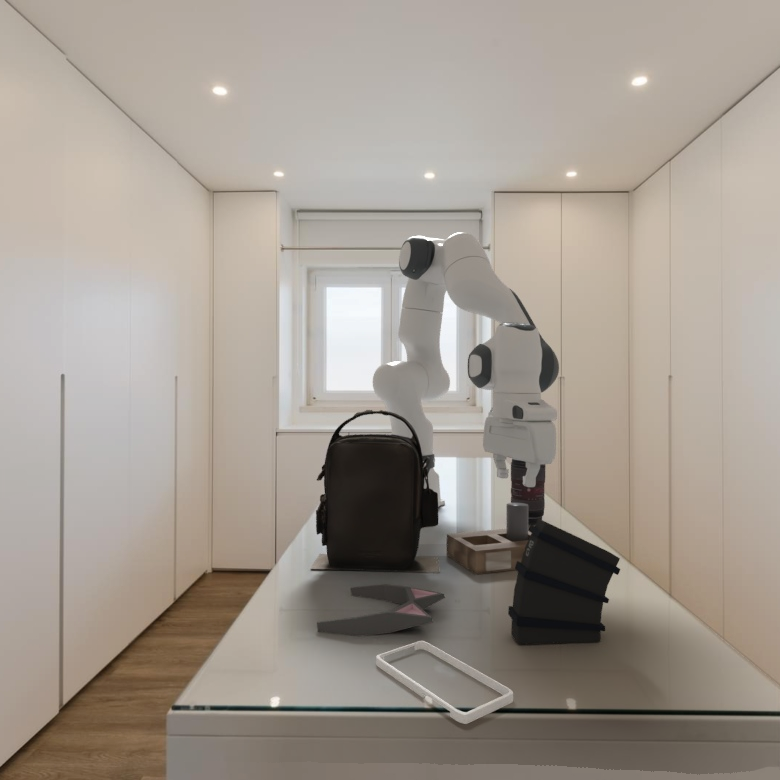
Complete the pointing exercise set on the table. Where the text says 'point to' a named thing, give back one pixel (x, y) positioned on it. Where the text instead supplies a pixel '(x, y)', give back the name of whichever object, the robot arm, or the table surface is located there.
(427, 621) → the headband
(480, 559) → the socket block
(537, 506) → the camera lens
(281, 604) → the table surface
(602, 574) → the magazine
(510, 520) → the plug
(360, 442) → the shoulder bag
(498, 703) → the phone case
